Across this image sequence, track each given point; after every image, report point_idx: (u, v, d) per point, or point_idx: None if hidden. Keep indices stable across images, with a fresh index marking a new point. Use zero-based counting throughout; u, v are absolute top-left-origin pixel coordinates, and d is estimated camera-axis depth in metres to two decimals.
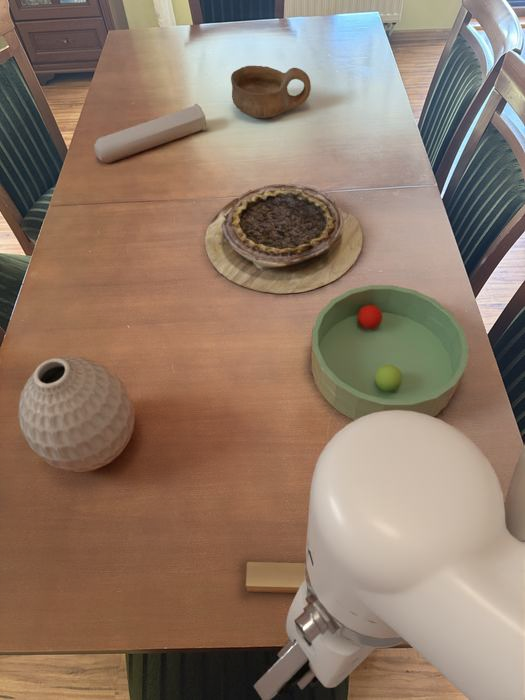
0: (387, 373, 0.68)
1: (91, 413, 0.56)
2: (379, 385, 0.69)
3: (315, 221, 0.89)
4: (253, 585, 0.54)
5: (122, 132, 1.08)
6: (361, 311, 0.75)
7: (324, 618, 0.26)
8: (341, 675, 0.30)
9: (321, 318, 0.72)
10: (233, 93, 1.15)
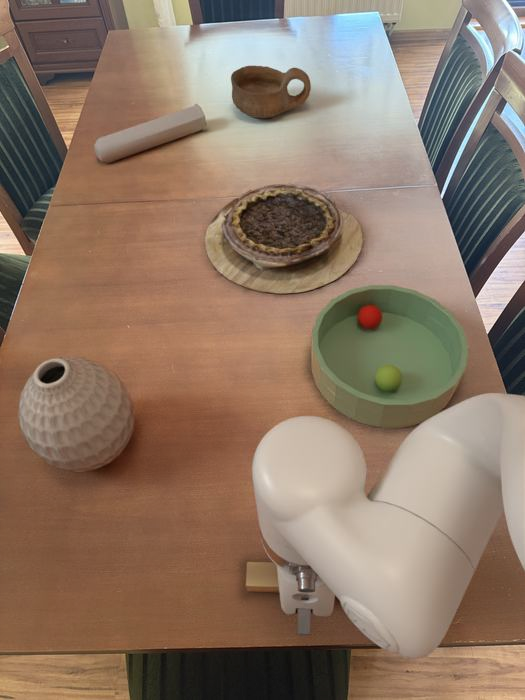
0: (387, 373, 0.68)
1: (91, 413, 0.56)
2: (379, 385, 0.69)
3: (315, 221, 0.89)
4: (253, 585, 0.54)
5: (122, 132, 1.08)
6: (361, 311, 0.75)
7: (311, 571, 0.38)
8: None
9: (321, 318, 0.72)
10: (233, 93, 1.15)
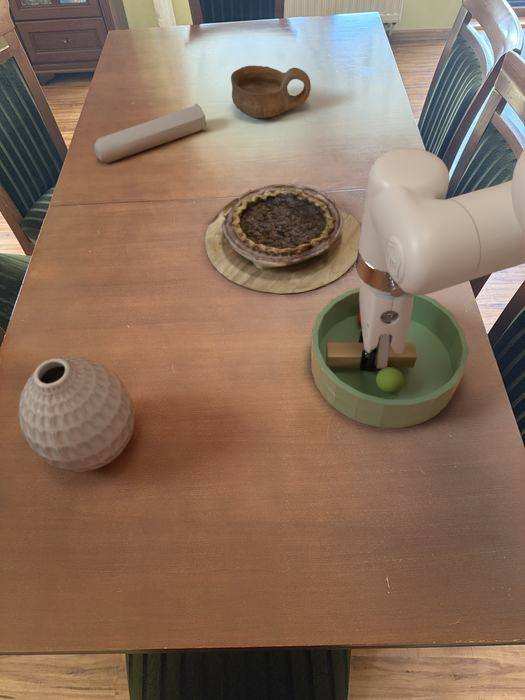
0: (390, 378, 0.67)
1: (91, 413, 0.56)
2: (380, 388, 0.68)
3: (315, 221, 0.89)
4: (333, 356, 0.69)
5: (122, 132, 1.08)
6: None
7: None
8: (409, 323, 0.59)
9: (321, 318, 0.72)
10: (233, 93, 1.15)
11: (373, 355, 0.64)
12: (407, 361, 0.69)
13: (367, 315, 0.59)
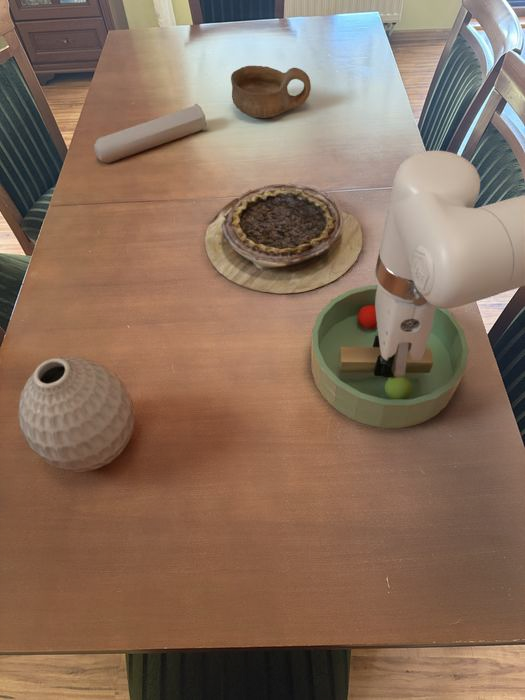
0: (402, 393, 0.67)
1: (91, 413, 0.56)
2: (387, 394, 0.68)
3: (315, 221, 0.89)
4: (347, 361, 0.67)
5: (122, 132, 1.08)
6: (361, 311, 0.75)
7: None
8: None
9: (321, 318, 0.72)
10: (233, 93, 1.15)
11: (390, 362, 0.62)
12: (423, 367, 0.67)
13: (386, 322, 0.57)
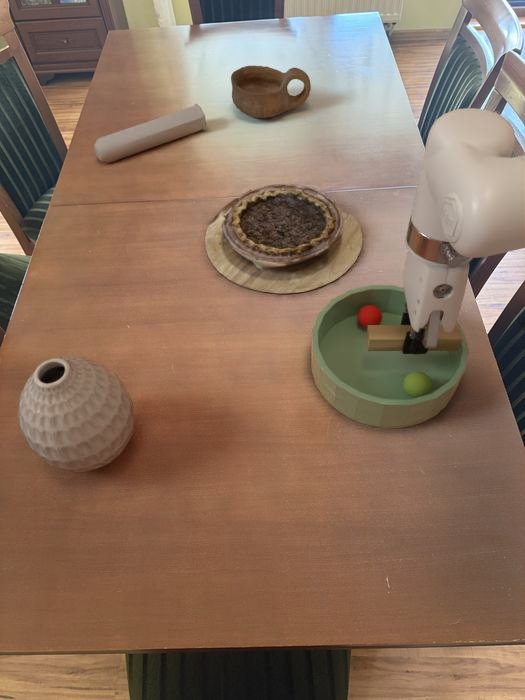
0: (429, 390, 0.67)
1: (91, 413, 0.56)
2: (418, 382, 0.67)
3: (315, 221, 0.89)
4: (375, 339, 0.67)
5: (122, 132, 1.08)
6: (361, 311, 0.75)
7: None
8: (462, 299, 0.56)
9: (321, 318, 0.72)
10: (233, 93, 1.15)
11: (420, 335, 0.61)
12: (452, 344, 0.67)
13: (418, 290, 0.56)
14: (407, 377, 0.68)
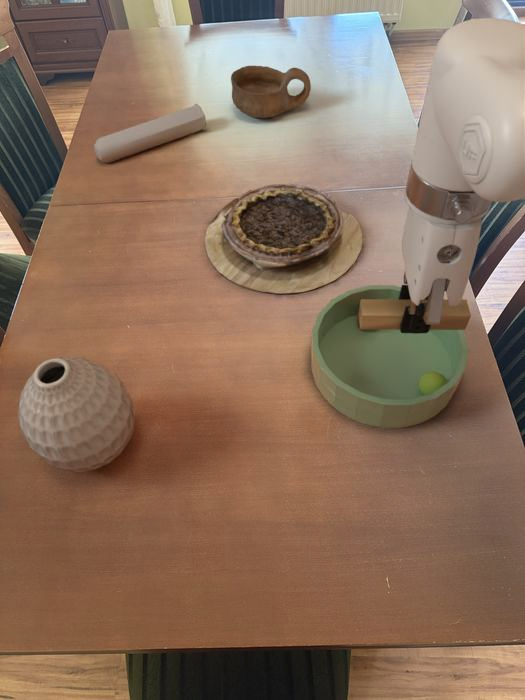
0: None
1: (91, 413, 0.56)
2: None
3: (315, 221, 0.89)
4: (369, 315, 0.57)
5: (122, 132, 1.08)
6: None
7: (468, 199, 0.41)
8: None
9: (321, 318, 0.72)
10: (233, 93, 1.15)
11: (421, 309, 0.52)
12: (458, 322, 0.58)
13: (419, 254, 0.47)
14: (437, 374, 0.67)
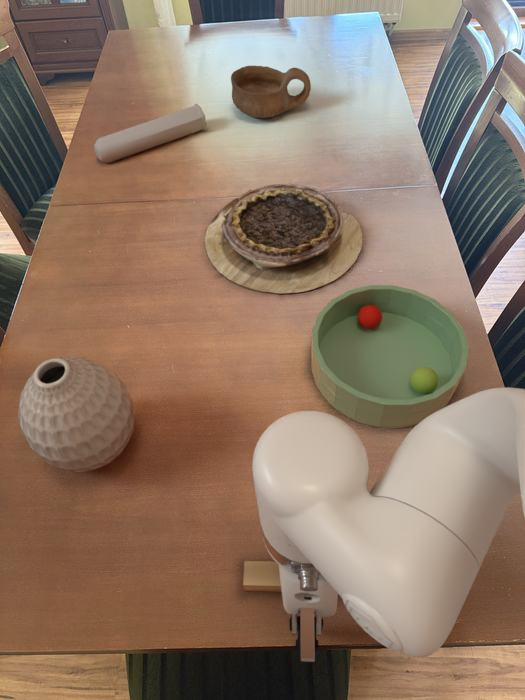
0: (434, 388, 0.68)
1: (91, 413, 0.56)
2: (431, 374, 0.67)
3: (315, 221, 0.89)
4: (250, 584, 0.54)
5: (122, 132, 1.08)
6: (361, 311, 0.75)
7: (313, 569, 0.38)
8: None
9: (321, 318, 0.72)
10: (233, 93, 1.15)
11: (298, 646, 0.45)
12: None
13: None
14: (420, 368, 0.68)
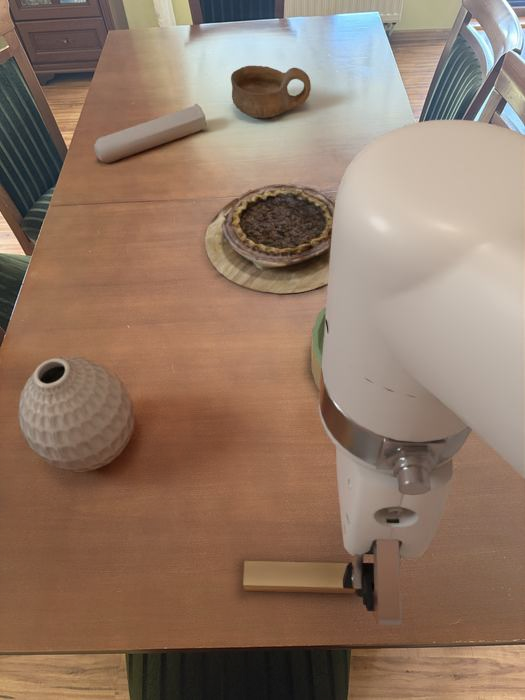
0: None
1: (91, 413, 0.56)
2: None
3: (315, 221, 0.89)
4: (250, 584, 0.54)
5: (122, 132, 1.08)
6: None
7: (423, 453, 0.21)
8: None
9: (321, 318, 0.72)
10: (233, 93, 1.15)
11: (369, 603, 0.29)
12: (345, 590, 0.54)
13: (346, 498, 0.27)
14: None
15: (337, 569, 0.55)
